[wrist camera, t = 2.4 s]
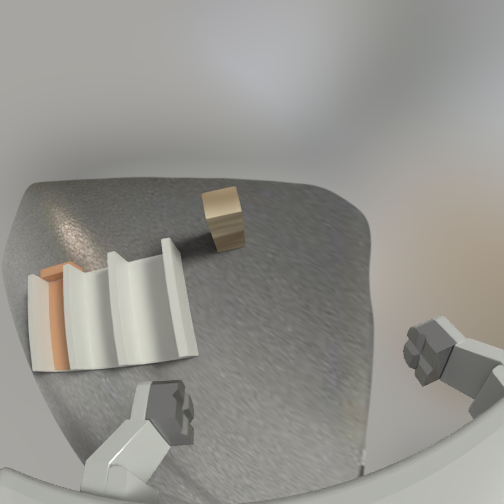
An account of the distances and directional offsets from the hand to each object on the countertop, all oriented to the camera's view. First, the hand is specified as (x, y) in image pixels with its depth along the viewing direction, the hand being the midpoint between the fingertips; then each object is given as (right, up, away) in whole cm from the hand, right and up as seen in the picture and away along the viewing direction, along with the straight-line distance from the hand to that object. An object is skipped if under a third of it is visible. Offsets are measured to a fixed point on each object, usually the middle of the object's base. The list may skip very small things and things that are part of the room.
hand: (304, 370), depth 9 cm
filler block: (-5, +6, +27) cm, 28 cm away
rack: (-20, -5, +24) cm, 31 cm away
